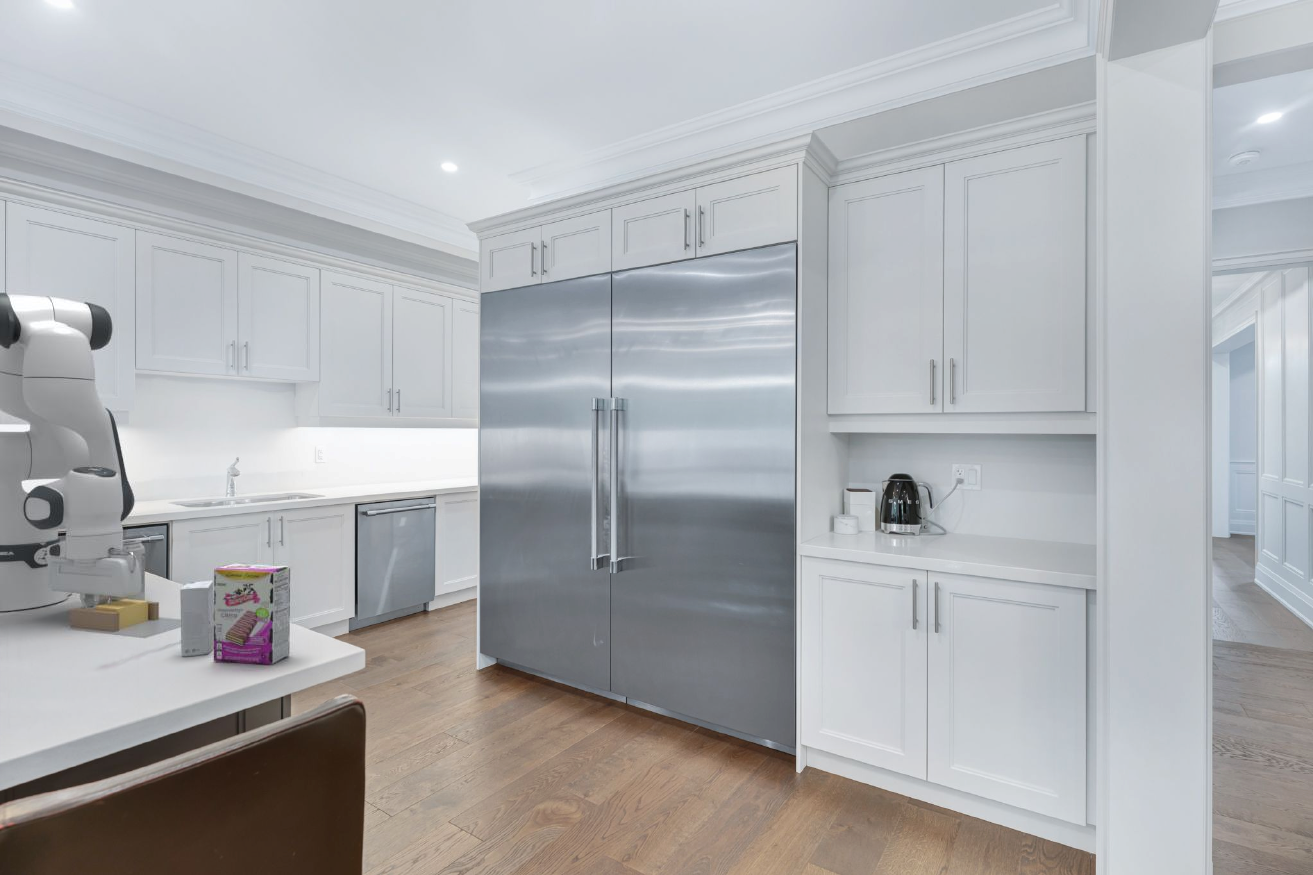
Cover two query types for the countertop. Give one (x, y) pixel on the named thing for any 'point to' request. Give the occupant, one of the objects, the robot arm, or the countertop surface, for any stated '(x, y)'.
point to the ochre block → (127, 611)
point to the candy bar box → (251, 613)
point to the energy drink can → (139, 552)
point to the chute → (110, 622)
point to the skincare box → (197, 618)
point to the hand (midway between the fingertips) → (94, 615)
